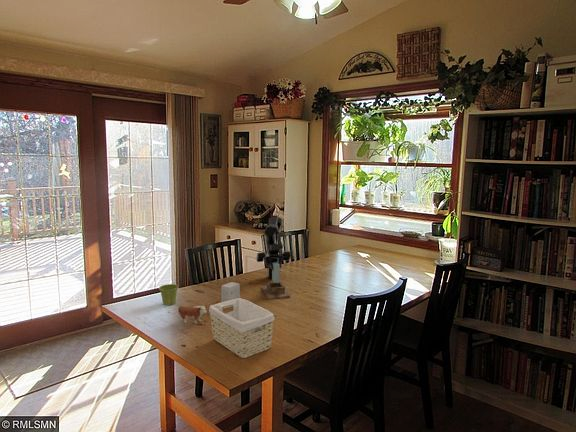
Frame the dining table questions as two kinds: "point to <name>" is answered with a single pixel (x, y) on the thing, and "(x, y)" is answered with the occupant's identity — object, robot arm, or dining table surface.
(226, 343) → the storage basket
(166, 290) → the plant pot
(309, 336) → the dining table surface
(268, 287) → the board
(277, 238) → the robot arm
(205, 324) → the dining table surface
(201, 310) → the bull figurine
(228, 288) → the small box
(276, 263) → the pale blue rectangular block
